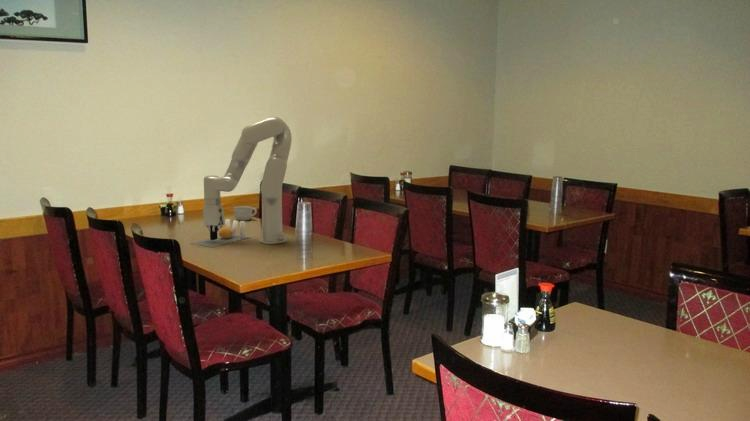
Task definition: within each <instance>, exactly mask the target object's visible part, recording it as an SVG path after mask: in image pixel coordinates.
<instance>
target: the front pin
mask: <svg viewBox="0 0 750 421" xmlns="http://www.w3.org/2000/svg"><path fill="white" fill-rule="evenodd" d="M239 223H240V221H239V220H237V219H234V220H233V222H232V226H231V228H230V230H231V232H232V234H231V236H230V237H233V238H234V237H235V235H236V232H237V229H238V225H239Z"/></svg>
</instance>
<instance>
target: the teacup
mask: <svg viewBox="0 0 750 421" xmlns="http://www.w3.org/2000/svg"><path fill="white" fill-rule="evenodd" d="M253 210H254V213H253ZM257 210H258V209H257V208H256V207H253V206H249V205H247V206H246V205H241V206H234V207H233V216H234V218H235V220H236V221H239V222H240V221H245V222H246V221H250V220H251V219H252V218H253V217H254V216H256V215H257V213H258V211H257Z"/></svg>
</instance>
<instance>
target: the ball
mask: <svg viewBox="0 0 750 421" xmlns="http://www.w3.org/2000/svg"><path fill="white" fill-rule="evenodd" d="M231 234H232V232H231V227H230V228H228V227H225V226H222V228H220V229H219V230H218V235H219V237H221V238H223V239H228V238H229V237H230V236H231Z"/></svg>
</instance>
